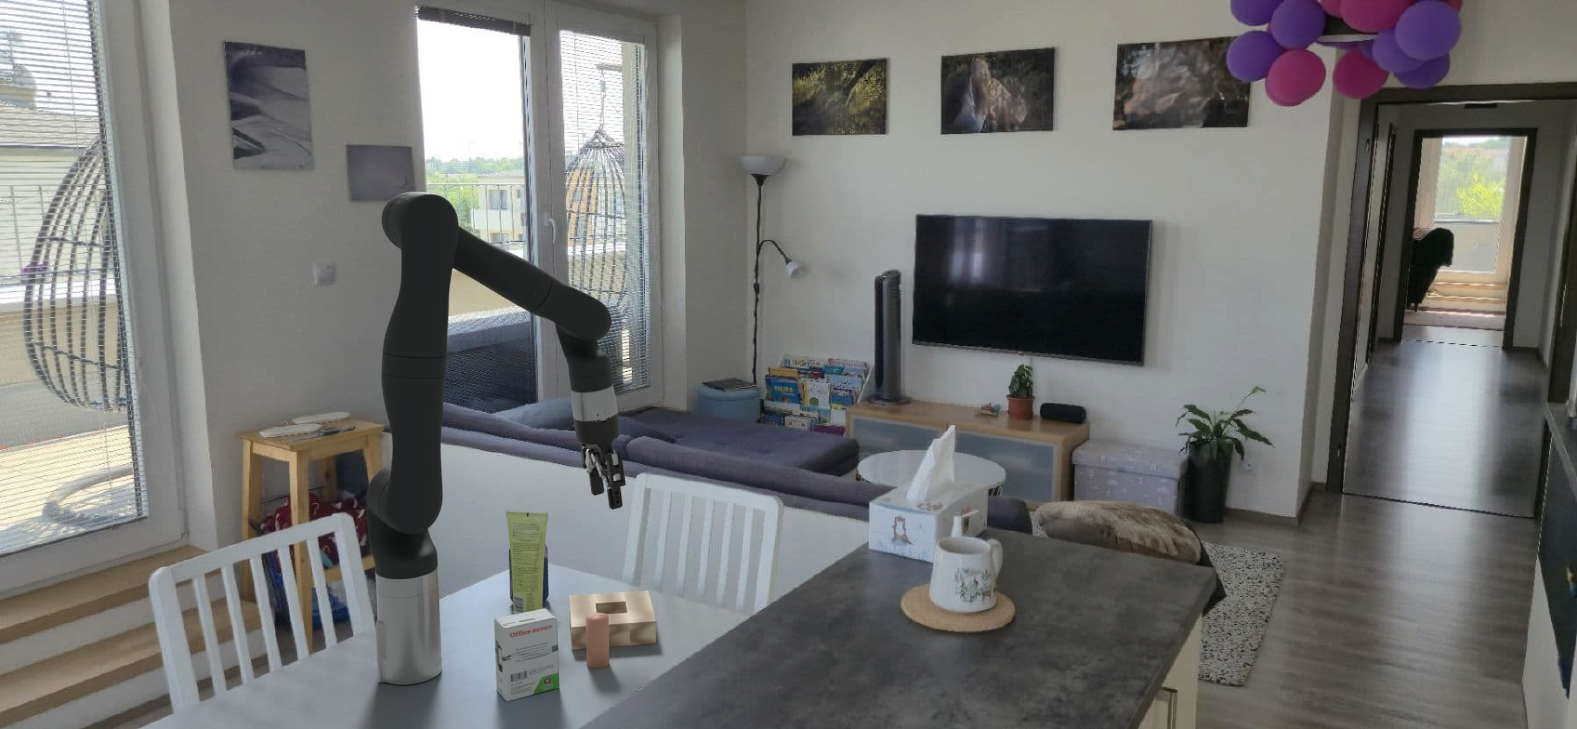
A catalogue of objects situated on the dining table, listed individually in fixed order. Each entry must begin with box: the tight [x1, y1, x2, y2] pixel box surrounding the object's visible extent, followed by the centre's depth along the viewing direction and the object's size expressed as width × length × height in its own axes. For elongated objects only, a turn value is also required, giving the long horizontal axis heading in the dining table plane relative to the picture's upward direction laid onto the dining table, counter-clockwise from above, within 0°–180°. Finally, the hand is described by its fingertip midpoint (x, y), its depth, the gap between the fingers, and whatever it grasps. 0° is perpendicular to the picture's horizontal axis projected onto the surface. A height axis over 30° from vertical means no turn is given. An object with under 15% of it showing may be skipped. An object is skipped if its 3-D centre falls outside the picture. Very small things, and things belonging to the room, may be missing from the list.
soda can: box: [508, 543, 550, 605], centre depth 204 cm, size 7×7×12 cm
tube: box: [505, 510, 549, 615], centre depth 196 cm, size 6×5×20 cm
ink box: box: [493, 607, 561, 702], centre depth 170 cm, size 9×5×12 cm, turn 123°
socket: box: [568, 590, 657, 651], centre depth 193 cm, size 14×14×4 cm
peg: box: [585, 613, 610, 670], centre depth 179 cm, size 4×4×8 cm
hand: (607, 500), depth 194 cm, fingers open, 8 cm apart
